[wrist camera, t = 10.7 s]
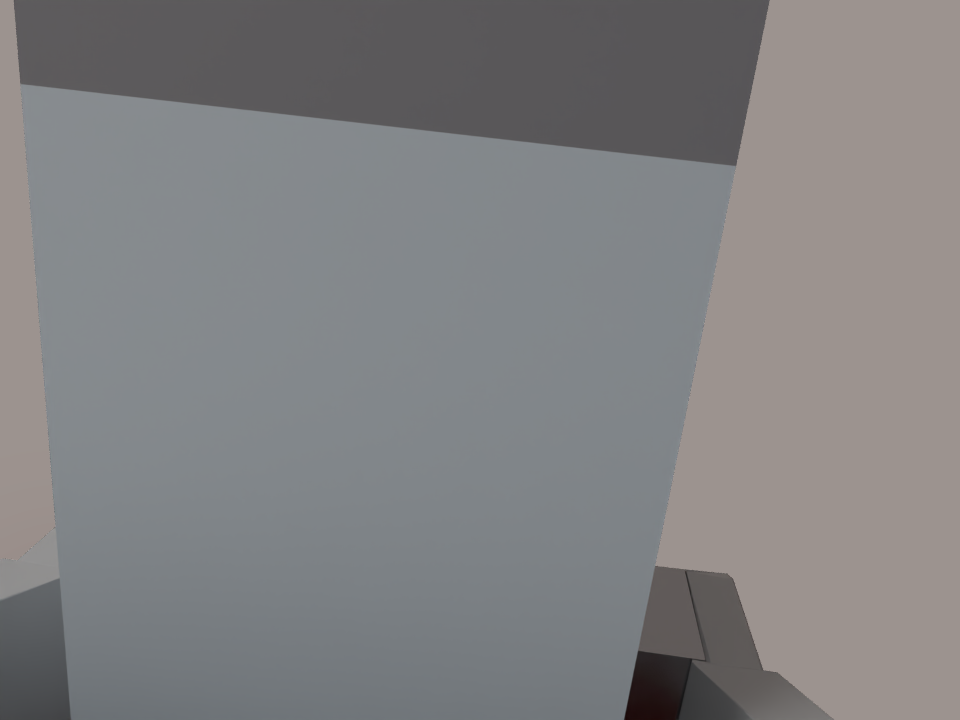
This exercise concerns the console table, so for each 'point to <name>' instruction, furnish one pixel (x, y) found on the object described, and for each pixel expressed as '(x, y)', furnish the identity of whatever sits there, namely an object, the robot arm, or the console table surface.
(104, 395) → the grey tall block
